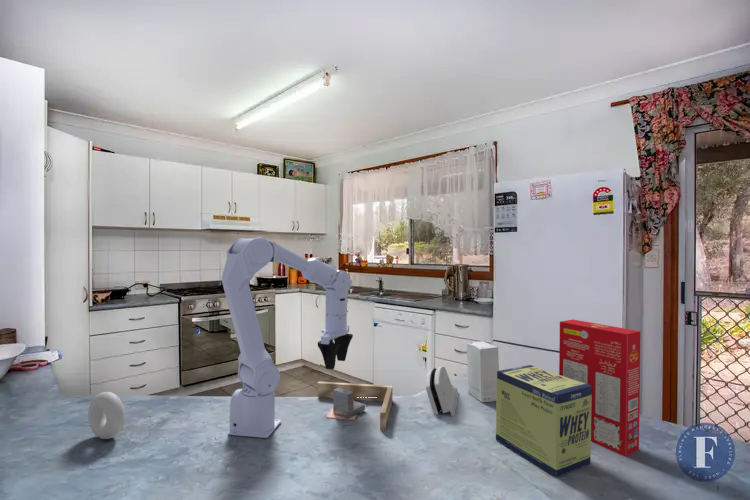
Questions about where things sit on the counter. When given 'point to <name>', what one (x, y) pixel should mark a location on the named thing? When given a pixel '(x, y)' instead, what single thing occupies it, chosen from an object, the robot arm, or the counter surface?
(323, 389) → the wooden corner frame
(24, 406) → the counter surface
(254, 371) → the robot arm
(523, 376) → the protein box
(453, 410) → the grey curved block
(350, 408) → the bracket
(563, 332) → the food packaging
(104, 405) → the donut
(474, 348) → the skincare box
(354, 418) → the flat panel
